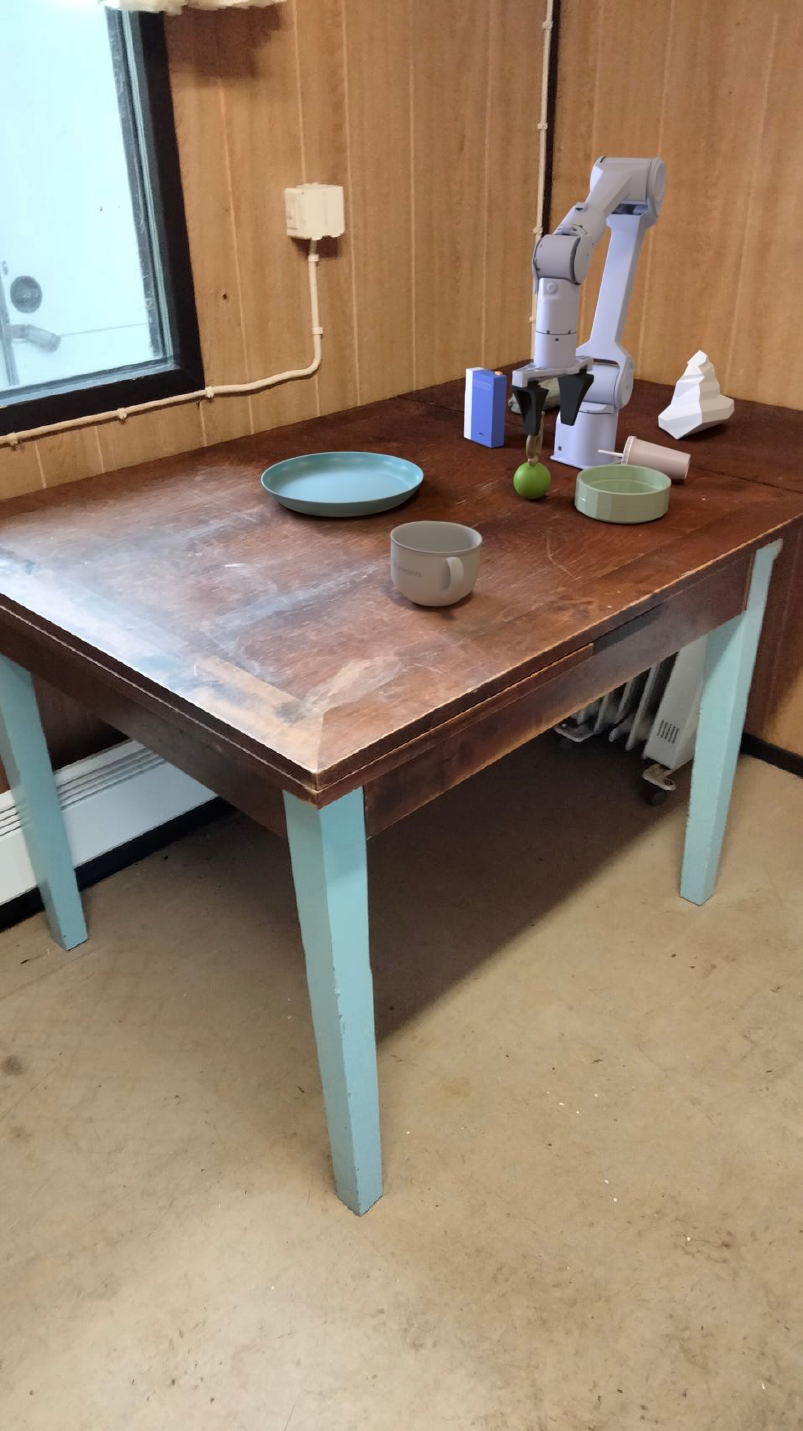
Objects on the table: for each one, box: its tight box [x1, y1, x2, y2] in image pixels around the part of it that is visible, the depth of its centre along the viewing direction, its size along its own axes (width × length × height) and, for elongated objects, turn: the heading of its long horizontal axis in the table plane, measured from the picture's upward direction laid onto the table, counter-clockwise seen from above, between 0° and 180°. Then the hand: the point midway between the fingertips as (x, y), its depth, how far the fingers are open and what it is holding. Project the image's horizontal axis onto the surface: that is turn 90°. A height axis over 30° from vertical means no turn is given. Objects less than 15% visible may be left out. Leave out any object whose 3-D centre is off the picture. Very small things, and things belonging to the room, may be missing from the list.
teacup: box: [389, 520, 483, 607], centre depth 122 cm, size 14×11×8 cm
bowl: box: [573, 464, 672, 524], centre depth 149 cm, size 13×13×4 cm
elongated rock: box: [507, 362, 615, 415], centre depth 203 cm, size 35×5×10 cm
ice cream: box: [657, 349, 735, 440], centre depth 180 cm, size 12×15×14 cm
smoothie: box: [598, 435, 692, 480], centre depth 160 cm, size 6×6×14 cm
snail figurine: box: [513, 410, 552, 500], centre depth 151 cm, size 5×6×12 cm
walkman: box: [463, 366, 508, 449], centre depth 175 cm, size 8×3×12 cm, turn 33°
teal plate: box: [260, 451, 424, 518], centre depth 155 cm, size 24×24×3 cm
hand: (549, 429), depth 149 cm, fingers open, 7 cm apart
